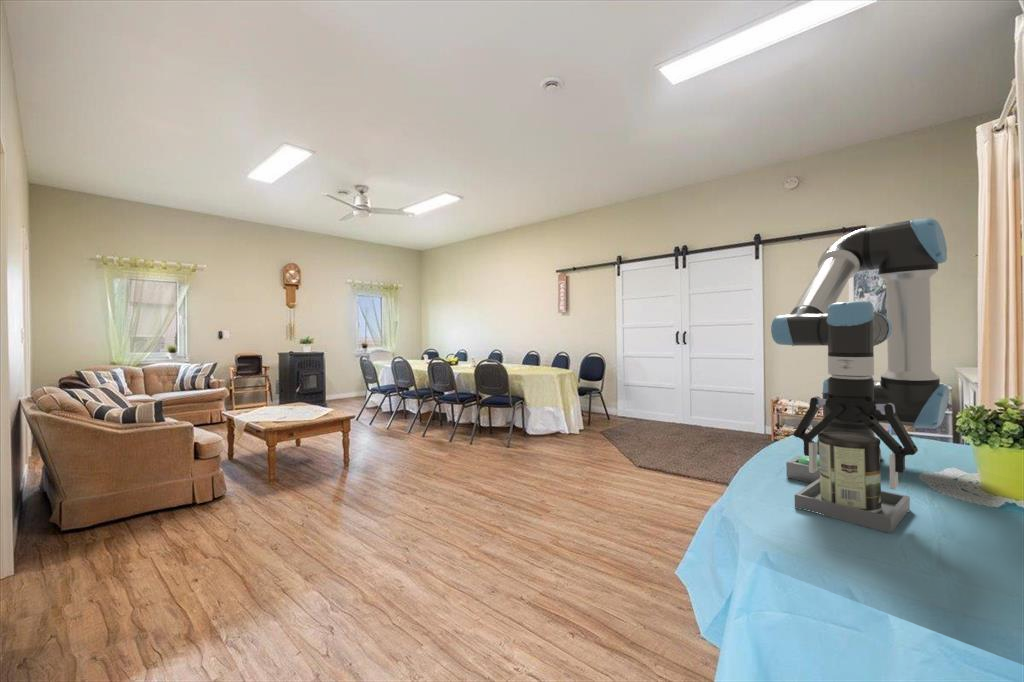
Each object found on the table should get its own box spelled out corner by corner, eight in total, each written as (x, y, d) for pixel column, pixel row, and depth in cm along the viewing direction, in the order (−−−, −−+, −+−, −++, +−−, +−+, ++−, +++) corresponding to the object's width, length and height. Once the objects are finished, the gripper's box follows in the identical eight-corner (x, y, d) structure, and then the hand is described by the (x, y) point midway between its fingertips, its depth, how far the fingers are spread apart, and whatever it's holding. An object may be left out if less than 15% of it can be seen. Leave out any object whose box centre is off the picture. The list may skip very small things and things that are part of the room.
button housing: (798, 470, 115) (798, 455, 115) (835, 478, 109) (834, 462, 109) (786, 477, 110) (786, 461, 110) (824, 486, 104) (823, 469, 104)
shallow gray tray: (820, 489, 102) (820, 477, 102) (909, 509, 90) (909, 496, 90) (794, 507, 92) (794, 494, 92) (890, 533, 80) (890, 518, 80)
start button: (802, 470, 113) (802, 455, 113) (825, 475, 109) (825, 459, 109) (795, 474, 110) (795, 459, 110) (818, 479, 106) (818, 463, 106)
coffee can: (862, 495, 95) (861, 431, 95) (894, 515, 85) (892, 443, 85) (810, 494, 97) (808, 431, 97) (835, 513, 87) (833, 442, 87)
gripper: (776, 374, 98) (777, 469, 98) (929, 383, 78) (930, 501, 79) (789, 371, 102) (790, 462, 103) (937, 379, 83) (937, 490, 83)
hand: (851, 479), depth 91 cm, fingers open, 13 cm apart
